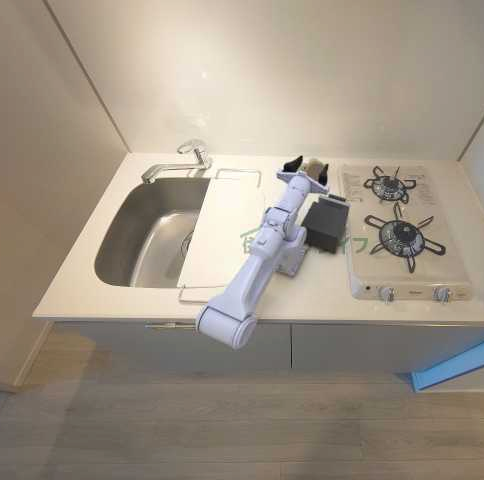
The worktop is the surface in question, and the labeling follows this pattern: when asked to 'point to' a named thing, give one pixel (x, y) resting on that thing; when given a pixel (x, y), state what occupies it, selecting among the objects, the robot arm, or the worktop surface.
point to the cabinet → (324, 226)
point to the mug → (313, 168)
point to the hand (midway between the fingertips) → (314, 162)
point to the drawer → (334, 202)
